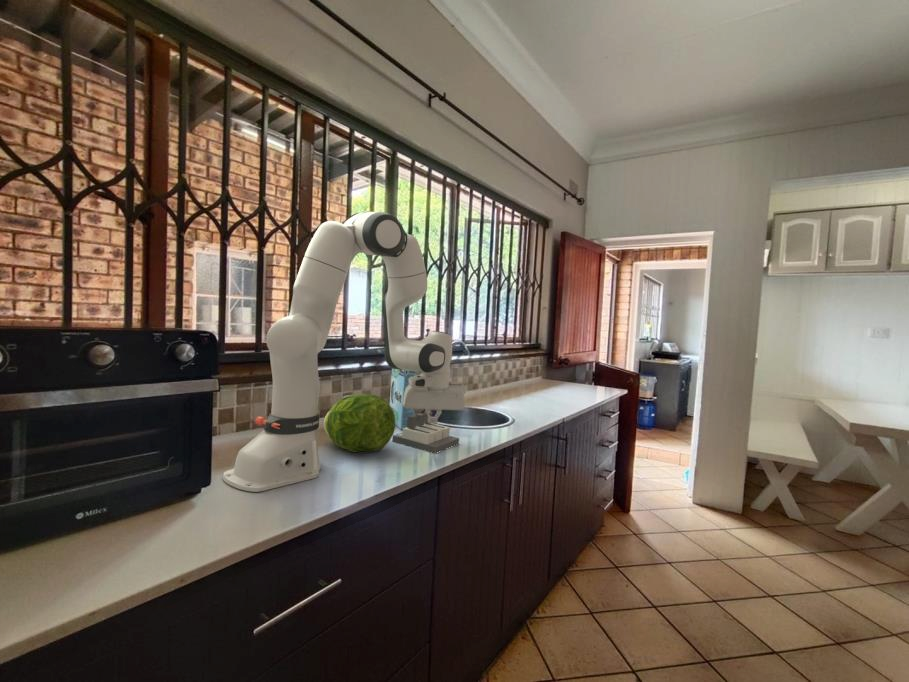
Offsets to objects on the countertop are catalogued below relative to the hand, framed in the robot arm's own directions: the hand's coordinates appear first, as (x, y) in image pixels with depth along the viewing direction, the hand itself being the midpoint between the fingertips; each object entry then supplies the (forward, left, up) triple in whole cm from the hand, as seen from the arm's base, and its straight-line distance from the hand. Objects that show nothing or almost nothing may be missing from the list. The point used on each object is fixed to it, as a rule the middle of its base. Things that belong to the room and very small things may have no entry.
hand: (432, 422), depth 132 cm
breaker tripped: (0, +5, -2) cm, 5 cm away
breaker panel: (0, +2, -7) cm, 7 cm away
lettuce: (-21, +13, -7) cm, 26 cm away
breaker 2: (+5, +5, -2) cm, 7 cm away
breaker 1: (-4, +5, -2) cm, 7 cm away
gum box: (+13, +23, -8) cm, 28 cm away
